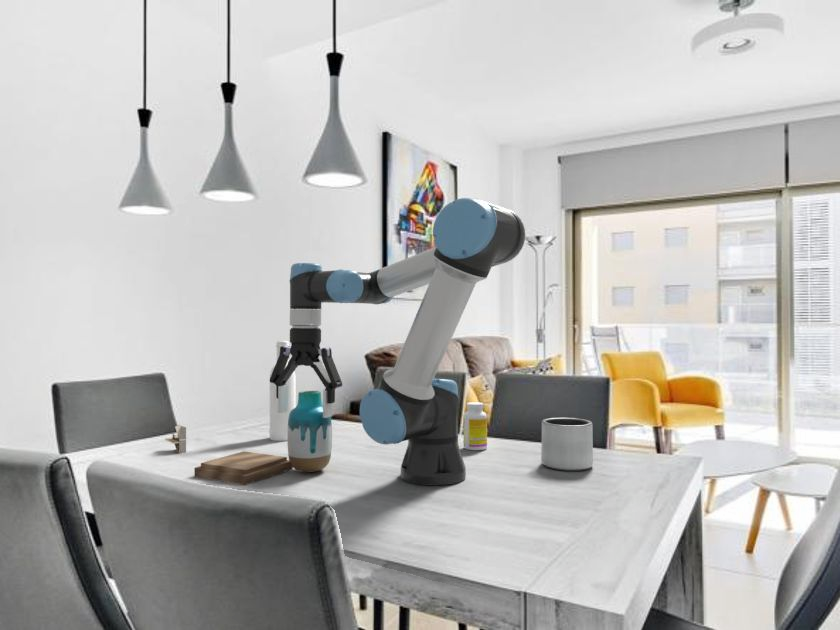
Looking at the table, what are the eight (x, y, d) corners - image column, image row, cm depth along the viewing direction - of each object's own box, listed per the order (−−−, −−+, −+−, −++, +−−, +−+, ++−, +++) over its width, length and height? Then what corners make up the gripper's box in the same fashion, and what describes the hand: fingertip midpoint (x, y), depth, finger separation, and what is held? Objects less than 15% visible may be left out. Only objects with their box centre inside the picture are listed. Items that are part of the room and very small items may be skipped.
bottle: (287, 441, 180) (287, 341, 180) (264, 440, 182) (264, 341, 182) (300, 436, 188) (300, 340, 188) (277, 435, 190) (277, 340, 190)
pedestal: (292, 468, 148) (292, 456, 148) (245, 485, 133) (245, 471, 133) (243, 461, 155) (243, 450, 155) (194, 476, 141) (194, 463, 141)
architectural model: (173, 456, 164) (173, 428, 164) (164, 451, 169) (165, 425, 169) (186, 454, 166) (186, 427, 166) (177, 450, 171) (177, 424, 171)
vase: (322, 477, 139) (322, 394, 139) (279, 475, 141) (279, 393, 142) (338, 467, 149) (338, 389, 150) (298, 465, 152) (298, 389, 152)
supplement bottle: (491, 449, 170) (491, 403, 170) (473, 452, 166) (473, 405, 166) (476, 445, 175) (476, 401, 175) (458, 447, 171) (458, 402, 171)
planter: (570, 458, 159) (570, 415, 159) (604, 468, 148) (603, 423, 148) (531, 463, 153) (531, 419, 153) (563, 474, 142) (562, 427, 142)
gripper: (357, 327, 144) (356, 416, 144) (276, 325, 155) (275, 408, 155) (338, 328, 137) (338, 421, 137) (255, 326, 148) (254, 412, 149)
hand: (304, 414), depth 146 cm, fingers open, 13 cm apart
